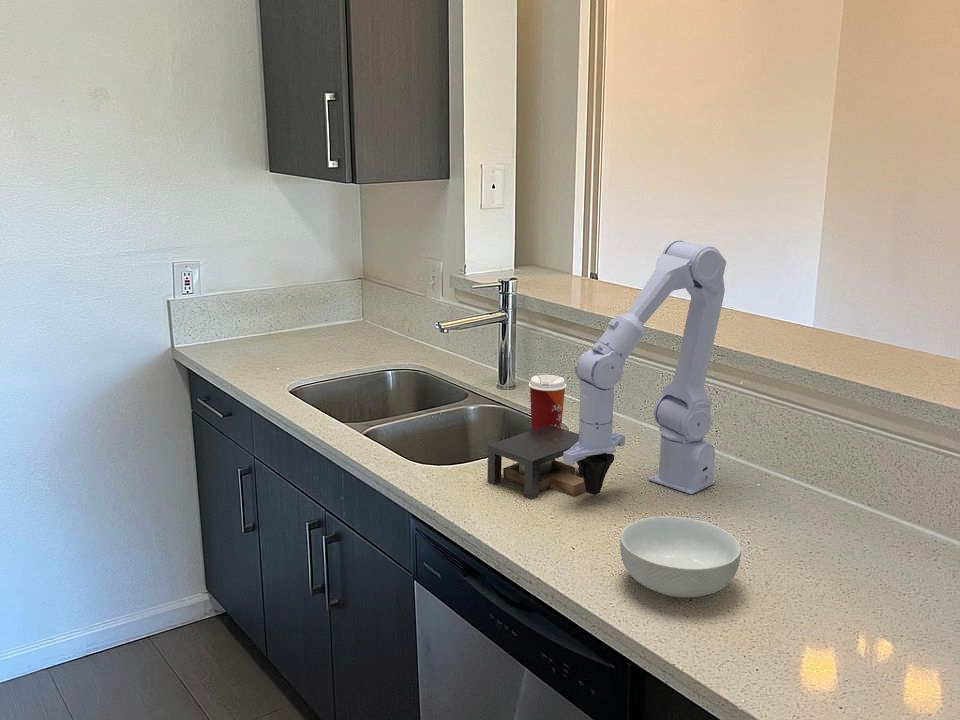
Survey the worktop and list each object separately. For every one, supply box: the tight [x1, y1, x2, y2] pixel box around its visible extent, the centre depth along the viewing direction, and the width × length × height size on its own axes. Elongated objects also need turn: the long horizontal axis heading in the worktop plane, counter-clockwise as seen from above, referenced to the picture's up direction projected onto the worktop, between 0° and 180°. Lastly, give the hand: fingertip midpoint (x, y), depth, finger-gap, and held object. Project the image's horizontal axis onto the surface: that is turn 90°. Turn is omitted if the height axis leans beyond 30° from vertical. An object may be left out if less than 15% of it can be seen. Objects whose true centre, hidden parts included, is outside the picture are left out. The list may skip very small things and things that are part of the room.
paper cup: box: [528, 374, 567, 430], centre depth 187 cm, size 8×8×14 cm
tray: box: [502, 459, 586, 497], centre depth 169 cm, size 14×10×4 cm
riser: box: [487, 425, 583, 500], centre depth 170 cm, size 11×17×7 cm, turn 134°
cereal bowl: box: [619, 515, 742, 599], centre depth 132 cm, size 17×17×7 cm
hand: (593, 492), depth 162 cm, fingers closed
